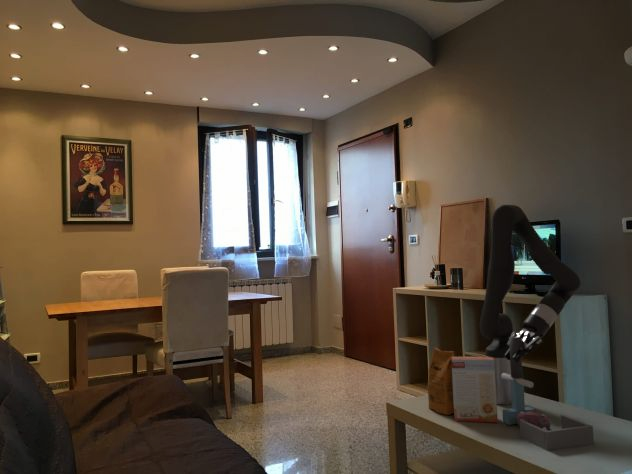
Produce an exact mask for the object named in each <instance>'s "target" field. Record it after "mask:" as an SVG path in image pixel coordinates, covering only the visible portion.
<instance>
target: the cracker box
mask: <svg viewBox="0 0 632 474" xmlns="http://www.w3.org/2000/svg"><path fill="white" fill-rule="evenodd" d="M452 380H453V401H454V413H453V415H454V422H455V421H456V422H477V423H479V422H480V423H495V424H496V423H499V422H498V420H499V419H498V418H499V417H498V404H497V399H496V381H495V363H494V358H493V357H486V356H455V357H452Z"/></svg>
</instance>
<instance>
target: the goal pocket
mask: <svg viewBox="0 0 632 474" xmlns="http://www.w3.org/2000/svg"><path fill="white" fill-rule="evenodd" d="M560 419H561V420H560V421H561V423H560V424H561V428H558V429H548V430H546V429H544V428H543V429H541V428H539V427H537V426H535V424H533V423H531V424H530V423H528V422H526V421H523V420H520V426H519V432H520V433H519V437H520V438H521V439H523V440H526V441H527V442H529V443H531V444H532V445H535V446H537V447H539V448H541V449H542V450H545V451H553V450H560V449H567V448H573V447H580V446H588V445H594V443H595V441H594V426H593V425H590V424H588V423H585V422H583V421H580V420H578V419H576V418H573V417H570V416H567V415H565V414H561V415H560Z"/></svg>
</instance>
